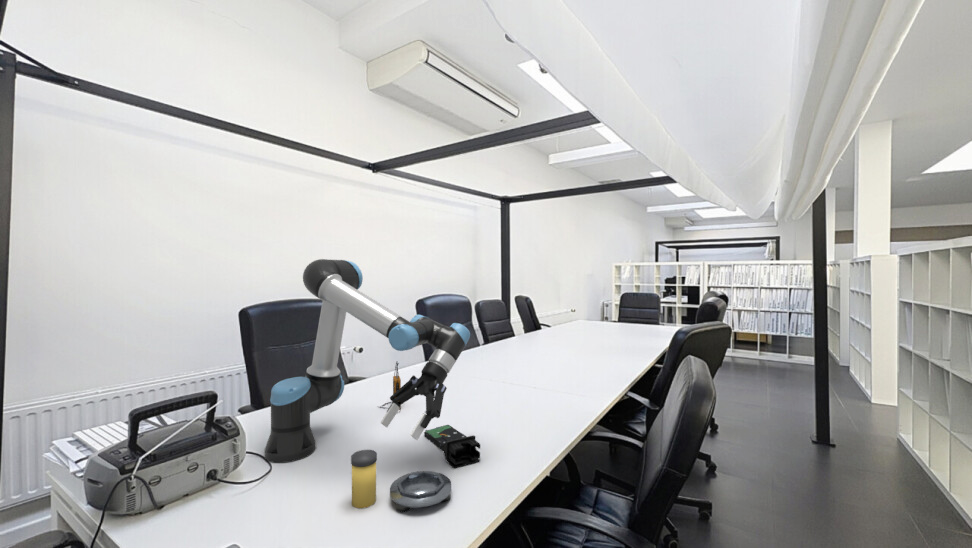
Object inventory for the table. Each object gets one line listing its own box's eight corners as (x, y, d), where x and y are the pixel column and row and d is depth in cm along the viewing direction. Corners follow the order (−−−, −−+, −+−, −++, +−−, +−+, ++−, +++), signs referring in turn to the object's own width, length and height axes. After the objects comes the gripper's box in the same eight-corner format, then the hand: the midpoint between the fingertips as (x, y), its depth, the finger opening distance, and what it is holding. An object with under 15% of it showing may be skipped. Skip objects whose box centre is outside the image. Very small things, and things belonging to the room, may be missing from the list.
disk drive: (469, 445, 137) (448, 431, 149) (469, 437, 137) (448, 423, 149) (443, 453, 131) (423, 437, 143) (443, 444, 131) (423, 429, 143)
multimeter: (376, 404, 179) (376, 360, 179) (398, 401, 182) (398, 358, 182) (377, 415, 165) (377, 367, 165) (401, 412, 168) (401, 365, 168)
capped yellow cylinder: (352, 511, 98) (352, 462, 98) (349, 497, 103) (350, 452, 103) (378, 505, 100) (378, 458, 100) (374, 492, 106) (375, 448, 106)
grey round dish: (396, 522, 93) (396, 506, 93) (385, 488, 108) (385, 474, 108) (459, 506, 100) (459, 491, 100) (441, 476, 114) (441, 463, 114)
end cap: (470, 453, 130) (470, 432, 130) (481, 461, 124) (481, 440, 124) (443, 460, 125) (443, 438, 125) (452, 469, 119) (452, 447, 119)
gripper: (473, 381, 115) (435, 450, 104) (418, 368, 132) (380, 426, 120) (460, 366, 111) (419, 436, 100) (405, 355, 128) (364, 414, 116)
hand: (398, 431), depth 110 cm, fingers open, 13 cm apart
